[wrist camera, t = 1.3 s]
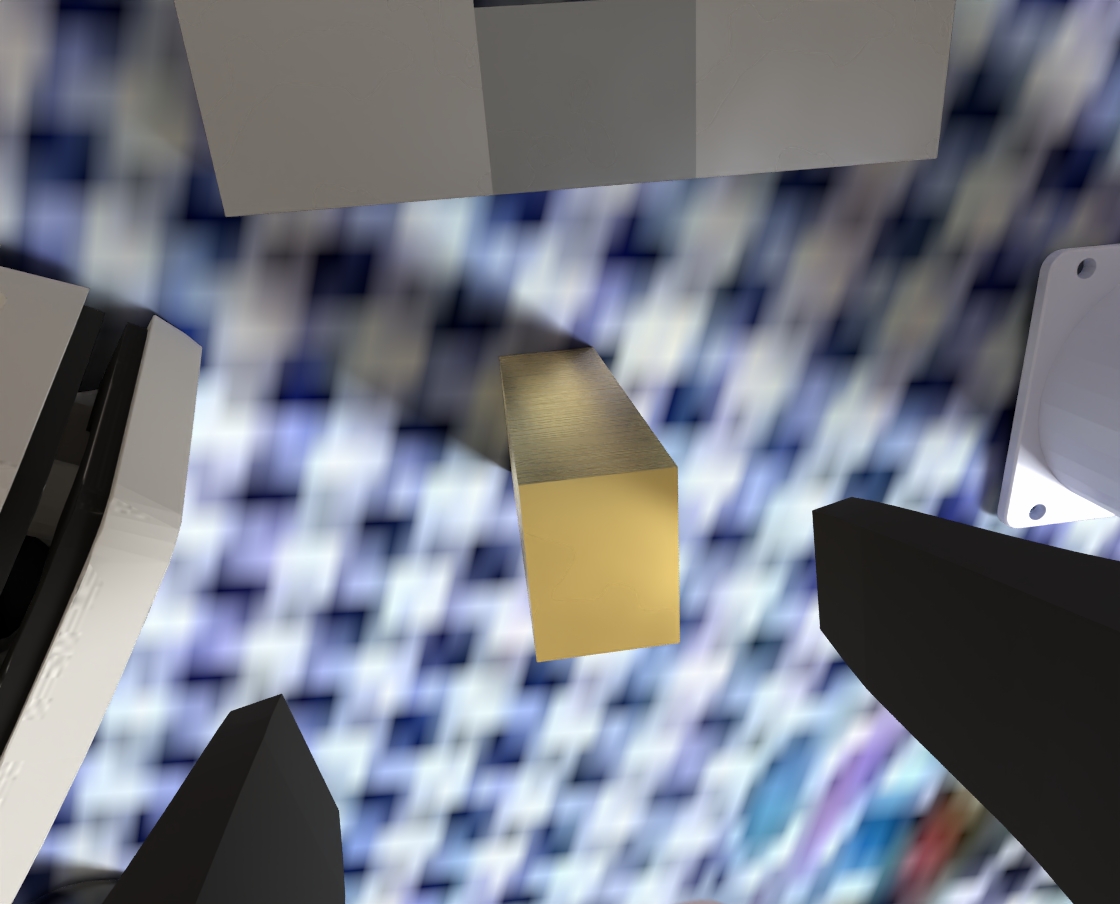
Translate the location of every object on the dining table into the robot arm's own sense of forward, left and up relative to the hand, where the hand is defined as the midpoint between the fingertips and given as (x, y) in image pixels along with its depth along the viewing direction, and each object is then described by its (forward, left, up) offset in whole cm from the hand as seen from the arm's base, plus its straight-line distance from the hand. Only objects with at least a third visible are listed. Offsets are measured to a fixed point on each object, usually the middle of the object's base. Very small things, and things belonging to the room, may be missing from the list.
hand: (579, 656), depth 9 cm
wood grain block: (-1, 0, -10) cm, 10 cm away
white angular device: (+13, +3, -10) cm, 17 cm away
